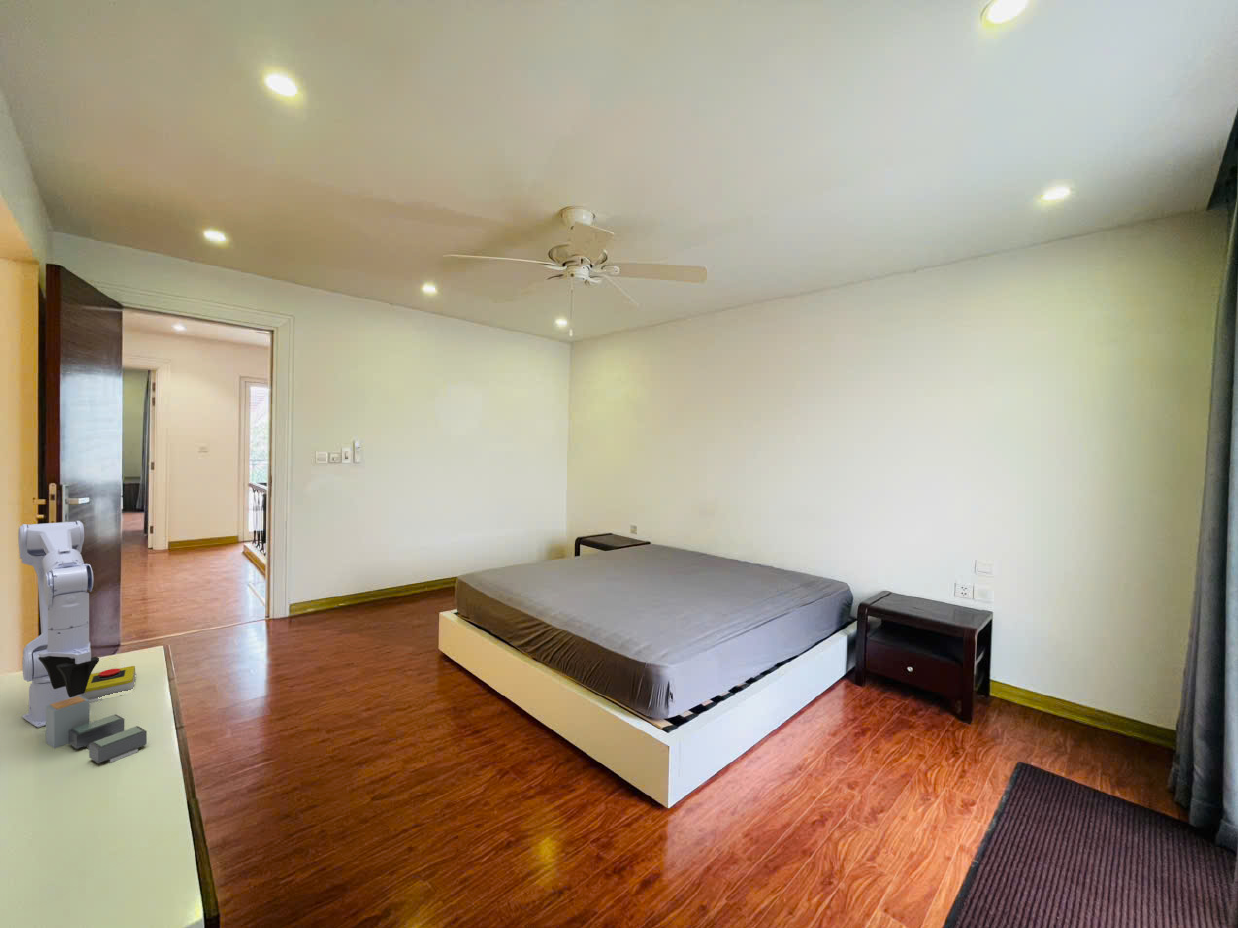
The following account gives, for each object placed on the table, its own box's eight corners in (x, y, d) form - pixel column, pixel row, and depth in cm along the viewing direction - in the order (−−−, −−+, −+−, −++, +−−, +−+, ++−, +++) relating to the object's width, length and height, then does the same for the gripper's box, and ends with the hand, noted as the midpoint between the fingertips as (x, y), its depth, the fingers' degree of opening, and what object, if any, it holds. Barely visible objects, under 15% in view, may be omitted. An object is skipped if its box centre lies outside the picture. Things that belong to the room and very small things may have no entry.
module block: (45, 742, 100) (45, 704, 100) (80, 730, 105) (80, 694, 105) (54, 748, 98) (54, 710, 98) (89, 736, 103) (89, 699, 103)
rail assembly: (67, 746, 99) (67, 728, 99) (114, 729, 105) (114, 712, 105) (99, 767, 93) (99, 748, 92) (147, 748, 99) (147, 730, 99)
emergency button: (136, 658, 133) (133, 677, 121) (136, 675, 133) (133, 695, 121) (86, 668, 126) (77, 689, 115) (86, 685, 126) (77, 707, 115)
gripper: (25, 625, 101) (25, 691, 101) (54, 637, 95) (54, 707, 95) (75, 615, 107) (74, 677, 107) (105, 626, 101) (104, 692, 101)
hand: (68, 691), depth 102 cm, fingers open, 7 cm apart
